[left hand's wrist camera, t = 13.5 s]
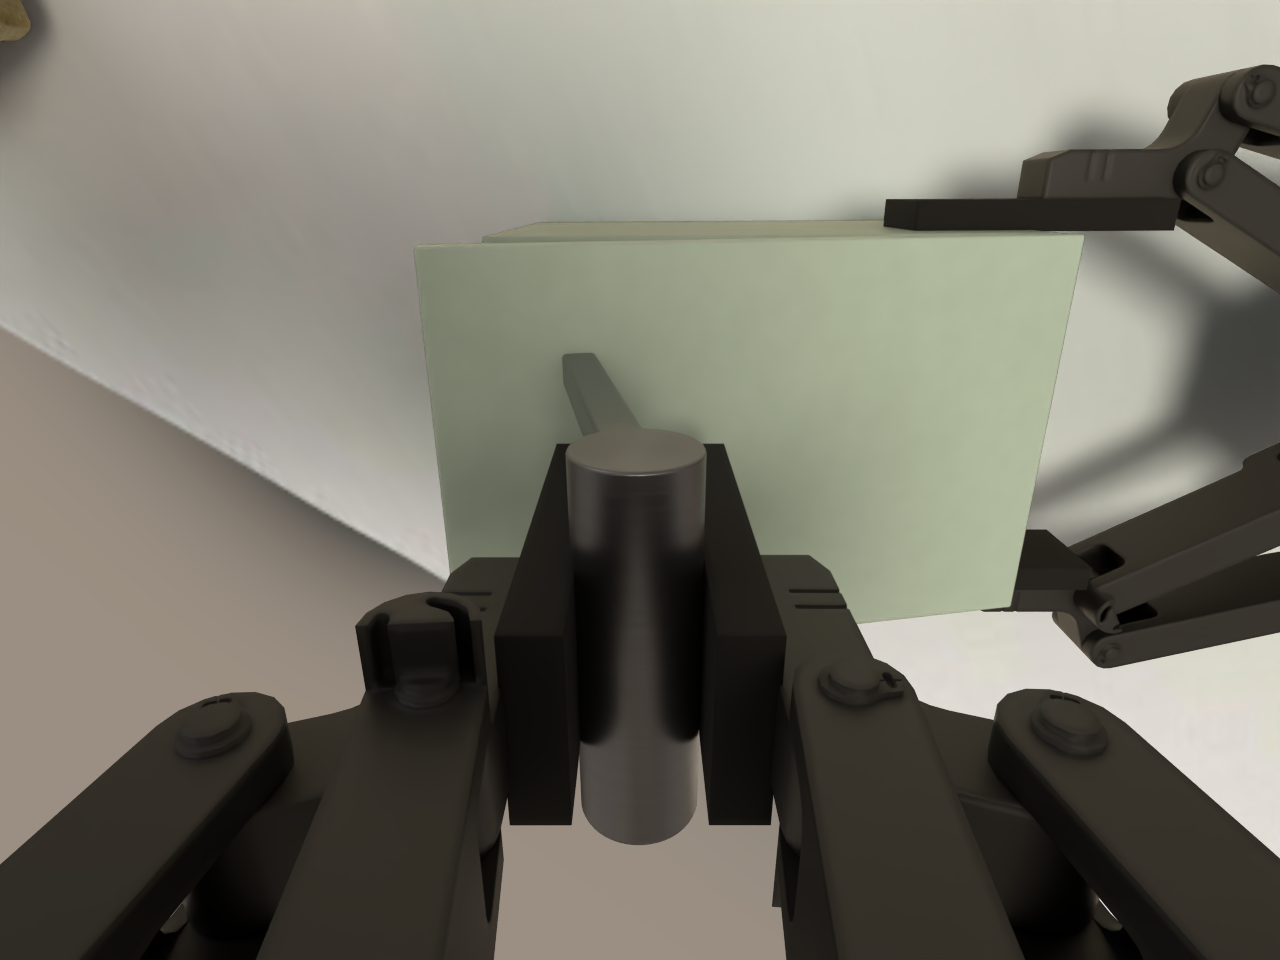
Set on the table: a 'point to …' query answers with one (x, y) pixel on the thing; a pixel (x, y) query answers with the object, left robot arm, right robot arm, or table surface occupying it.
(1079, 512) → the table surface
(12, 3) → the sculpture
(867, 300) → the lid
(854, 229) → the chest
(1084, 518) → the table surface
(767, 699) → the left robot arm
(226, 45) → the table surface
